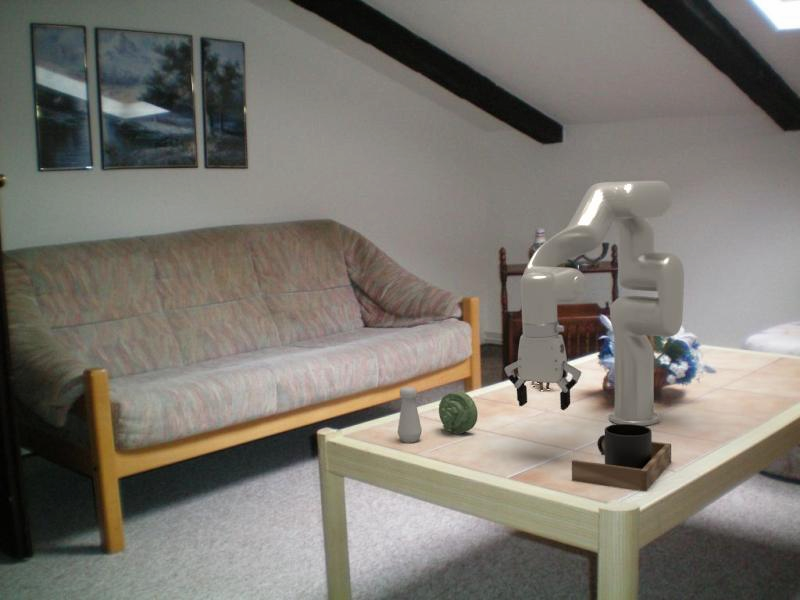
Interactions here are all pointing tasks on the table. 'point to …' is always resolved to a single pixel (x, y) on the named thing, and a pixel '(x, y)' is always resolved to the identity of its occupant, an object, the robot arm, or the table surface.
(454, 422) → the decorative artifact
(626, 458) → the mug
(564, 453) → the table surface
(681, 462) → the table surface
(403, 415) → the salt shaker
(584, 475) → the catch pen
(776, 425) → the table surface
